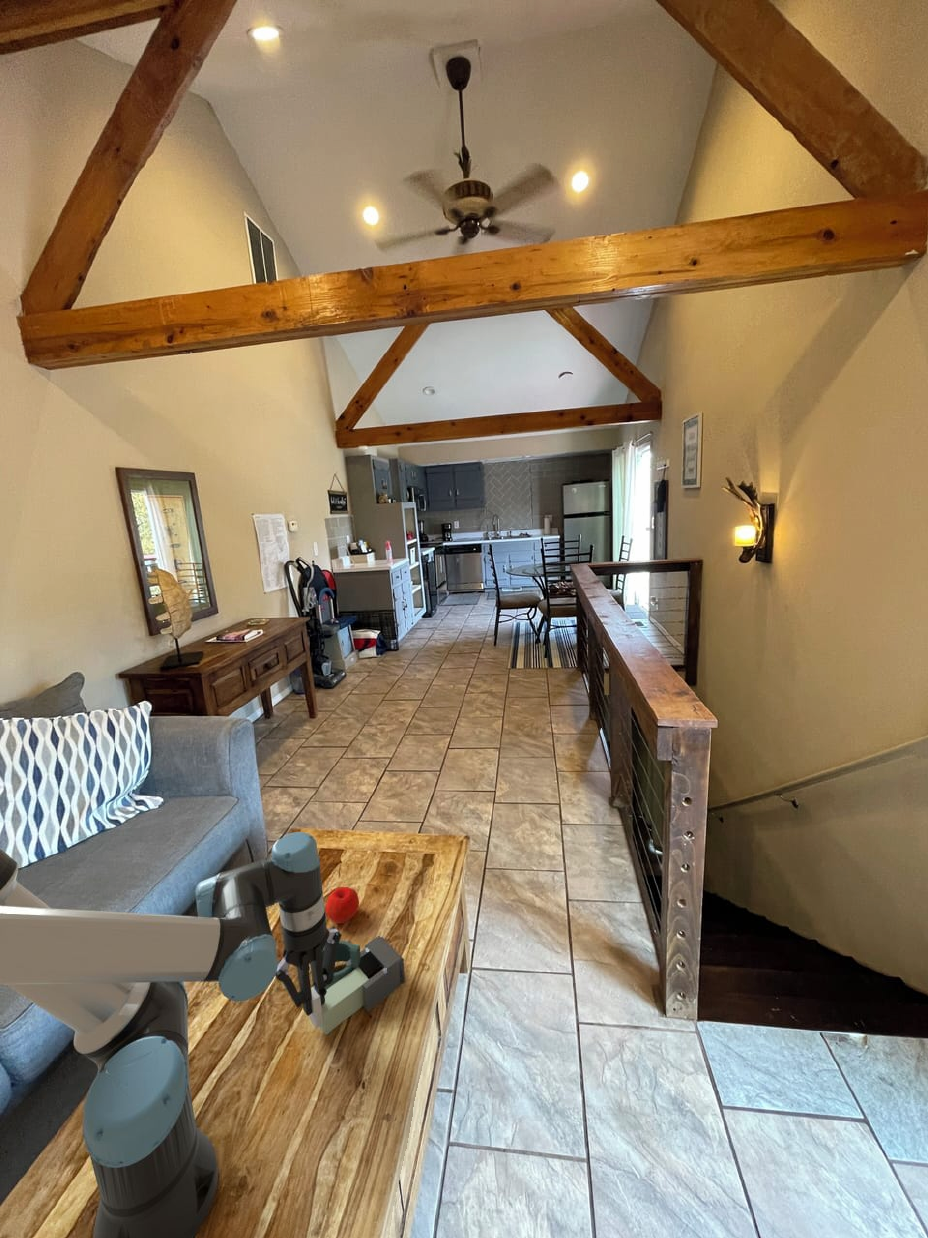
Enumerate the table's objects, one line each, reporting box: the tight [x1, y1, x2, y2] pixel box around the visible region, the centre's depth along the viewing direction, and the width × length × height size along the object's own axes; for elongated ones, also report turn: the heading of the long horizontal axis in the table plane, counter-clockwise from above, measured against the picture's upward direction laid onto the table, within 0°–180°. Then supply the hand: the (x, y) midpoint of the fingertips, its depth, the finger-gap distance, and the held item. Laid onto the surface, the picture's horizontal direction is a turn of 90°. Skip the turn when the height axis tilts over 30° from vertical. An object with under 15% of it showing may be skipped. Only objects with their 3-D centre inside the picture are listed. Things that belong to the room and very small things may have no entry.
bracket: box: [322, 940, 361, 990], centre depth 106 cm, size 9×9×9 cm
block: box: [319, 967, 370, 1036], centre depth 100 cm, size 10×4×5 cm, turn 133°
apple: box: [325, 886, 360, 924], centre depth 122 cm, size 8×8×7 cm
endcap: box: [344, 935, 406, 1013], centre depth 105 cm, size 9×8×7 cm
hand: (316, 1021), depth 96 cm, fingers closed
